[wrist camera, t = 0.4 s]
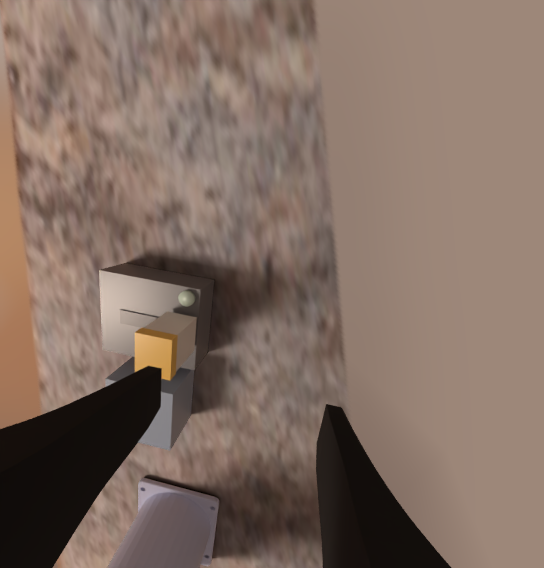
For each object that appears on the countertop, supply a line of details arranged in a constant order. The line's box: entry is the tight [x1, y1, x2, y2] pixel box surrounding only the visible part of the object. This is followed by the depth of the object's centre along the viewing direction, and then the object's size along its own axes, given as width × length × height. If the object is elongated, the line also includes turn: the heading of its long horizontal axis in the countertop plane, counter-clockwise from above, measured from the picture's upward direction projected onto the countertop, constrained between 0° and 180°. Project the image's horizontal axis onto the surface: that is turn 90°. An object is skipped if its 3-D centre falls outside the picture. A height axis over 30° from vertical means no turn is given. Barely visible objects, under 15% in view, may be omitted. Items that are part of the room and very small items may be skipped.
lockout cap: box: [106, 357, 194, 450], centre depth 20 cm, size 5×5×4 cm
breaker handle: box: [135, 311, 197, 380], centre depth 15 cm, size 2×2×3 cm
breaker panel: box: [99, 263, 214, 370], centre depth 18 cm, size 6×7×3 cm
